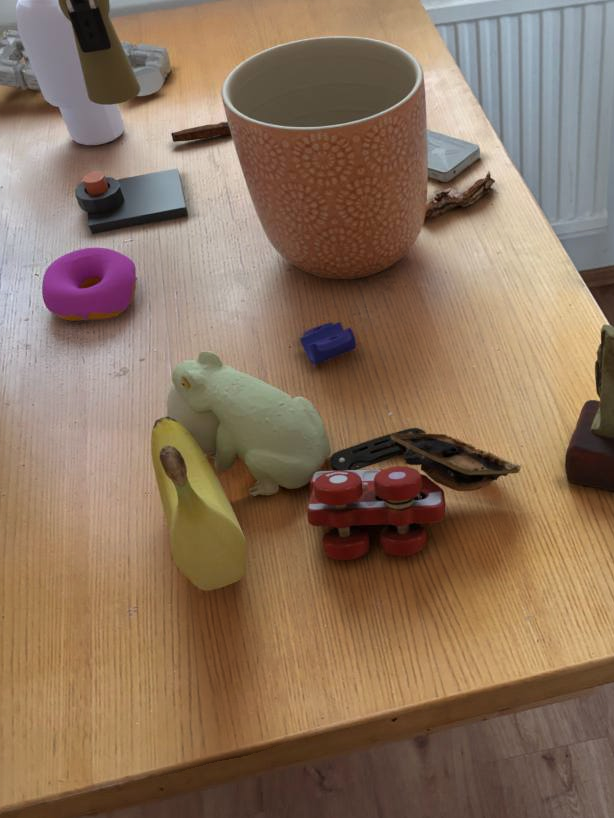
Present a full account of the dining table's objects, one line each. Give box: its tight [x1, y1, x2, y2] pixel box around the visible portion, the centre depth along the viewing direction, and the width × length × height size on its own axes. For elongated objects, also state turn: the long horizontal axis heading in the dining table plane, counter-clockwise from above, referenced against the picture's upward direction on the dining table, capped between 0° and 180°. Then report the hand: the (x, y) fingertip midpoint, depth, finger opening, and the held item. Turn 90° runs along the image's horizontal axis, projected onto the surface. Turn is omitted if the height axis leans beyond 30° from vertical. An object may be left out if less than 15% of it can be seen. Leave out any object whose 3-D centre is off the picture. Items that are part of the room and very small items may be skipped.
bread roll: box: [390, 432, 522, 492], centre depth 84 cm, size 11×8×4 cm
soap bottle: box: [15, 0, 125, 146], centre depth 119 cm, size 10×10×24 cm
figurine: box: [166, 350, 332, 497], centre depth 86 cm, size 10×16×10 cm, turn 64°
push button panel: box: [74, 168, 189, 235], centre depth 117 cm, size 13×10×3 cm
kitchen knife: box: [170, 121, 231, 143], centre depth 129 cm, size 21×2×5 cm
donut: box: [41, 246, 138, 322], centre depth 104 cm, size 10×10×5 cm
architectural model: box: [0, 29, 172, 97], centre depth 137 cm, size 12×25×5 cm, turn 85°
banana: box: [150, 416, 247, 591], centre depth 75 cm, size 26×6×13 cm
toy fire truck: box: [306, 465, 446, 561], centre depth 82 cm, size 7×12×10 cm
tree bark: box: [425, 170, 496, 218], centre depth 115 cm, size 6×12×2 cm, turn 132°
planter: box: [220, 35, 429, 280], centre depth 102 cm, size 21×21×19 cm
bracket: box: [299, 321, 357, 367], centre depth 97 cm, size 9×5×3 cm, turn 26°
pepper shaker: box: [58, 0, 140, 105], centre depth 103 cm, size 6×6×11 cm
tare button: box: [82, 171, 109, 195], centre depth 115 cm, size 3×3×2 cm
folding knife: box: [329, 427, 427, 471], centre depth 89 cm, size 10×1×3 cm
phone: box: [427, 129, 481, 183], centre depth 122 cm, size 8×16×1 cm, turn 55°
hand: (95, 36), depth 103 cm, fingers closed on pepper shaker, 5 cm apart
